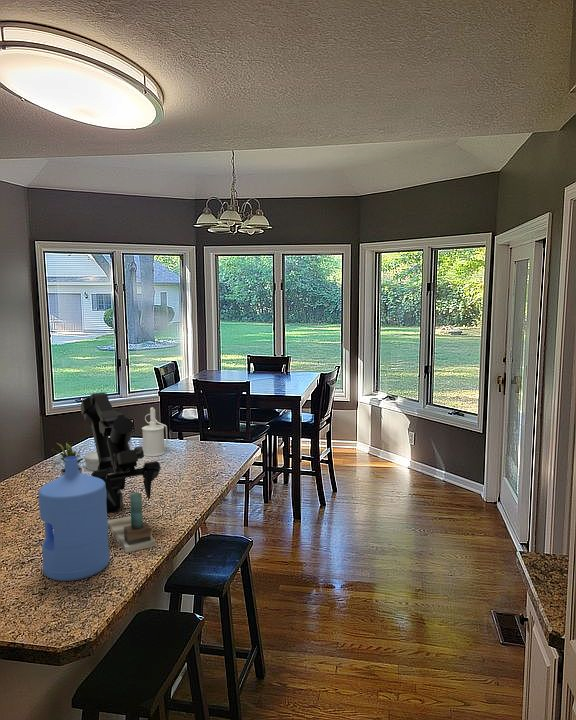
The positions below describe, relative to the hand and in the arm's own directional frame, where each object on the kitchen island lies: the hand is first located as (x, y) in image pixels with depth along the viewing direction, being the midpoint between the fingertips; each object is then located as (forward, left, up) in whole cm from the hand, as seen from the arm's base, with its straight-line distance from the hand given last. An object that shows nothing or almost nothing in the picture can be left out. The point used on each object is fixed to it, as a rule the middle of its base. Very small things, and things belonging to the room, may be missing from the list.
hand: (132, 501), depth 153 cm
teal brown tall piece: (+2, -3, -9) cm, 10 cm away
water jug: (-10, -15, -11) cm, 21 cm away
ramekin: (-34, +65, -11) cm, 74 cm away
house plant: (-37, +43, -11) cm, 57 cm away
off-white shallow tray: (-2, +3, -11) cm, 12 cm away
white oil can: (-17, +84, -11) cm, 86 cm away
